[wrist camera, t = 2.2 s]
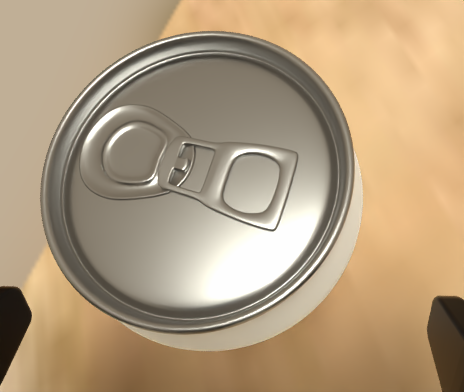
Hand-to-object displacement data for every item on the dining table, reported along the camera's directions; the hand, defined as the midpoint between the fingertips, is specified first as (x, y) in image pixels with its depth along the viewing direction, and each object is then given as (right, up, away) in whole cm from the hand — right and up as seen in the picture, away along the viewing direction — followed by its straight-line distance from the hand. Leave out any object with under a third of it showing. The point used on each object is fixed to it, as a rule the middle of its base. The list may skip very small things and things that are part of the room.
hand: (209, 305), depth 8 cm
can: (+2, -1, +10) cm, 10 cm away
